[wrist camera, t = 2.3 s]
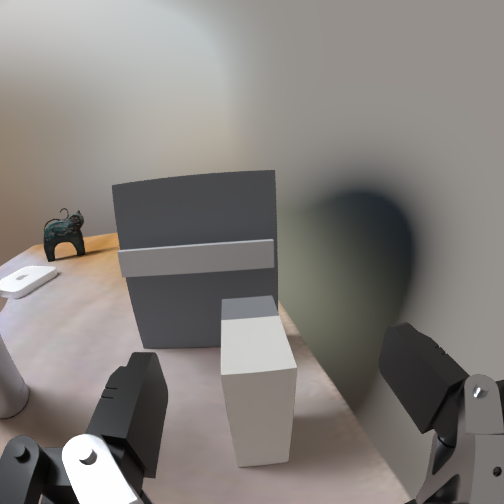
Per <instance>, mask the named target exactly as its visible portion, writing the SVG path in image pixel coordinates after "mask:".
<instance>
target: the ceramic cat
mask: <svg viewBox="0 0 504 504" xmlns="http://www.w3.org/2000/svg"><path fill="white" fill-rule="evenodd" d="M64 209H65V208H64ZM62 210H63V209H62ZM62 210H61V211H62ZM66 210H67V209H66ZM61 211H60V212H61ZM68 216H69V217H67V218H66V219H67V220H66V219H64V220H60V219H52V220H58V221H57V222H54V223H52V224H50V225H49V226H48V227H47V228H46V230H45V229H44V250H45V253H46V256H47V259H48V262H50V261H54V260H55V254H54V251H55V247H56V246H57V245H58V244H59V243H62V242H71V243H72V244H73V245H74V247H75V248H76V251H77V255H78V256H79V255H84V254H85V248H84V241H83V236H82V233H81V231H80V228H81V227H82V225H83V223H84V219H83V216H82V215H81V213H80V211H79V210H78V211H77V213H76V214H73V215H70V214H68ZM52 220H50V221H52ZM50 221H48V222H47V223H46V225H47V224H48V223H49V222H50ZM46 225H45V227H46Z"/></svg>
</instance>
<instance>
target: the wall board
mask: <svg viewBox="0 0 504 504" xmlns="http://www.w3.org/2000/svg"><path fill="white" fill-rule="evenodd" d="M112 191H113V202H114V209H115V218H116V225H117V232H118V239H119V245H120V250H119V251H118V252H117V253H118V258H119V263H120V268H121V273H122V277H126V281H127V286H128V290H129V295H130V299H131V303H132V307H133V311H134V315H135V319H136V322H137V326H138V330H139V333H140V337H141V340H142V343H143V347H144V348H197V347H219V346H221V315H222V299H234V298H247V297H259V296H271V295H272V297H273V299H274V302H275V305H276V308H277V311H278V261H277V260H278V259H277V217H276V216H277V214H276V183H275V170H264V171H262V170H261V171H240V172H224V173H210V174H198V175H188V176H178V177H168V178H160V179H152V180H144V181H137V182H130V183H123V184H117V185H112Z"/></svg>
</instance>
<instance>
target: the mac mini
mask: <svg viewBox="0 0 504 504" xmlns="http://www.w3.org/2000/svg"><path fill="white" fill-rule="evenodd" d="M55 276H57V270H56V267H49V266H27V267H24V268H21V269H20V270H18V271H16V272H14V273H12V274H10V275H9V276H7V277H5V278H3V279H1V280H0V296H1V297H6V298H11V299H18V298H21V297H23V296H25V295H27V294H28V293H30V292H31V291H33V290H34V289H36V288H37V287H39V286H41V285H42V284H44V283H45V282H47V281H49V280H50V279H52V278H54V277H55Z"/></svg>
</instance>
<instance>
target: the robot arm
mask: <svg viewBox="0 0 504 504" xmlns="http://www.w3.org/2000/svg"><path fill="white" fill-rule="evenodd" d="M379 369H380V372H381V374H382V376H383V377H384V379H385V380H386V382H387V383H388V385H389V386H390V387H391V389H392V390H393V392H394V393H395V395H396V396H397V398H398V399H399V401H400V402H401V404H402V405H403V406H404V408H405V409H406V411H407V412H408V414H409V415H410V417H411V418H412V420H413V421H414V423H415V424H416V426H417V427H418V429H419V430H420V432H421V433H422V434H424V433H426V432H428V431H430V430H432V429H434V430H435V431H436V433H435V434H434V436H433V440H432V447H431V453H430V459H429V464H428V469H427V474H426V478H425V481H424V483H423V486H422V487H421V489H420V490H419V492H418V494H417V496H416V499H413V500H411V501H409V502H407V503H405V504H504V380H501V381H497V382H495V381H494V380H493V379H491V378H490V377H488V376H486V375H481V374H476V375H472V376H469V375H468V374H467V373H466V372H465V371H464V370H463V369H462V368H461V367H460V366H459V365H458V364H457V363H456V362H455V361H454V360H453V359H452V358H451V357H450V356H449V355H448V354H445V351H444V350H443V349H442V348H441V347H440V348H439V345H438V344H437V343H436V342H435V341H433V340H432V339H431V338H430V337H428V336H426V335H424V334H422V333H420V332H418V331H417V330H416V329H415V328H413V326H412V325H410V324H409V323H406V322H405V323H402V324H397V325H393V326H389V327H388V328H387V330H386V333H385V337H384V341H383V346H382V350H381V354H380V358H379ZM28 397H29V390H28V387H27V385H26V384H25V382H24V380H23V378H22V376H21V375H20V373H19V371H18V370H17V368H16V366H15V364H14V362H13V360H12V358H11V356H10V354H9V352H8V350H7V348H6V346H5V344H4V342H3V339H2V337H1V335H0V418H9V417H11V416H14V415H15V414H17V413H18V412H19V411H21V410H22V408H23V407H24V406H25V404H26V403H27V400H28ZM167 404H168V389H167V385H166V382H165V379H164V376H163V372H162V369H161V366H160V363H159V360H158V357H157V354H156V353H154V352H134V353H132V355H131V357H130V359H129V362H128V364H127V366H126V367H123V366H120V367H119V368H118V369H117V370H116V371H115V372H114V373H113V374H112V375H111V376H110V377H109V380H108V382H107V384H106V386H105V389H104V391H103V393H102V395H101V398H100V400H99V402H98V404H97V407H96V409H95V412H94V414H93V416H92V419H91V421H90V424H89V426H88V429H87V431H86V433H85V434H84V435H79V436H76V437H74V438H72V439H71V440H70V441H68V442H67V444H66V445H65V447H62V448H41V447H40V446H39V445H38V444H37V443H36V442H35V440H34V439H32V438H31V437H29V436H25V435H20V436H16V437H14V438H13V439H11V440H10V441H9V442H8V443H7V445H6V447H5V449H4V451H3V454H2V456H1V458H0V504H38V503H39V499H40V495H41V494H42V495H43V497H42V501H41V504H154V503H153V502H152V500H151V499H150V497H149V496H148V495H147V493H146V492H145V490H144V489H143V488H142V484H143V478H144V477H147V478H155V477H156V470H157V463H158V456H159V450H160V443H161V437H162V431H163V426H164V420H165V414H166V409H167Z"/></svg>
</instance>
